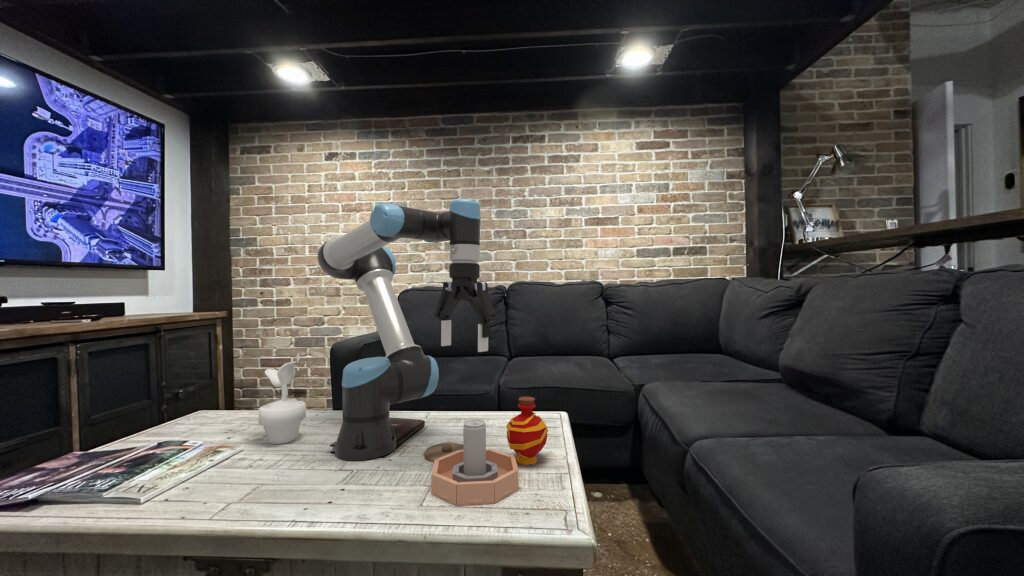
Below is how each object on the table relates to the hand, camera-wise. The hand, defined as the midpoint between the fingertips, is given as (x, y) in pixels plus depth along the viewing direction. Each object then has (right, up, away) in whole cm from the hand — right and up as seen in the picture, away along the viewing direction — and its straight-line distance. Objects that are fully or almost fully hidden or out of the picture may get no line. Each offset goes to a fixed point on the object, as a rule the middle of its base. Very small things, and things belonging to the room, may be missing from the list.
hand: (463, 348), depth 103 cm
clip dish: (+4, -27, -14) cm, 31 cm away
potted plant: (-52, -28, +13) cm, 61 cm away
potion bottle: (+16, -27, -2) cm, 32 cm away
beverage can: (+4, -26, -14) cm, 30 cm away
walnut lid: (-5, -28, +2) cm, 28 cm away
